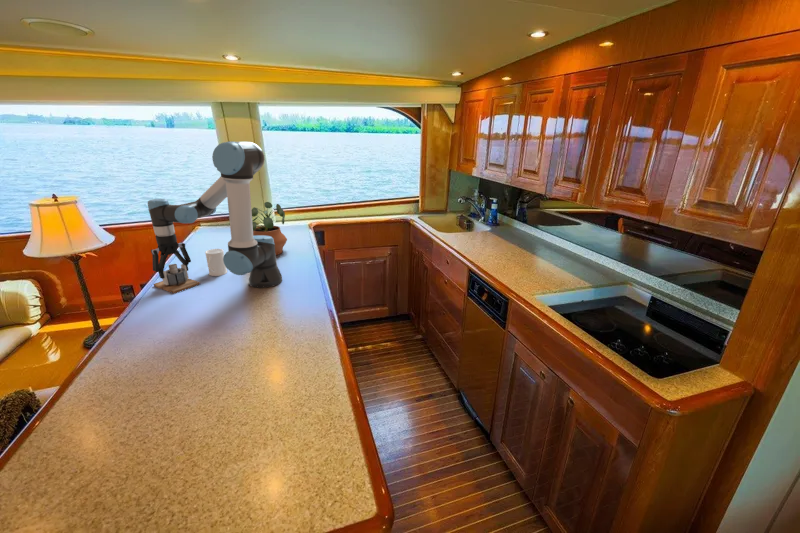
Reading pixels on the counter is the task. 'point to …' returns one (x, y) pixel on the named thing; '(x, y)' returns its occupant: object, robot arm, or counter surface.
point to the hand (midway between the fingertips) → (176, 280)
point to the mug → (216, 262)
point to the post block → (178, 287)
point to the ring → (176, 277)
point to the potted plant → (270, 227)
